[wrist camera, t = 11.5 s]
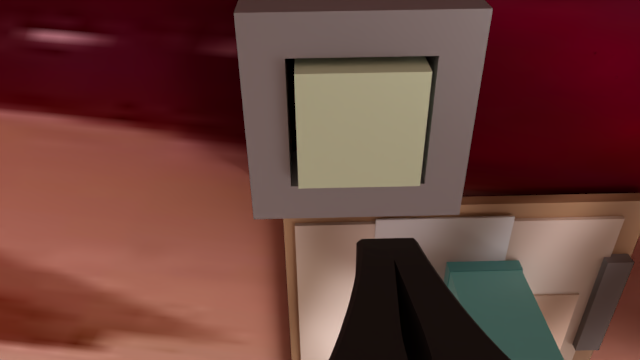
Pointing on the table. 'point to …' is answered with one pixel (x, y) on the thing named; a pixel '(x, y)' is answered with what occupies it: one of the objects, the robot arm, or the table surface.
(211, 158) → the table surface
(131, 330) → the table surface
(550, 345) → the teal rimmed box
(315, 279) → the clipboard
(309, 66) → the button
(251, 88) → the button housing
